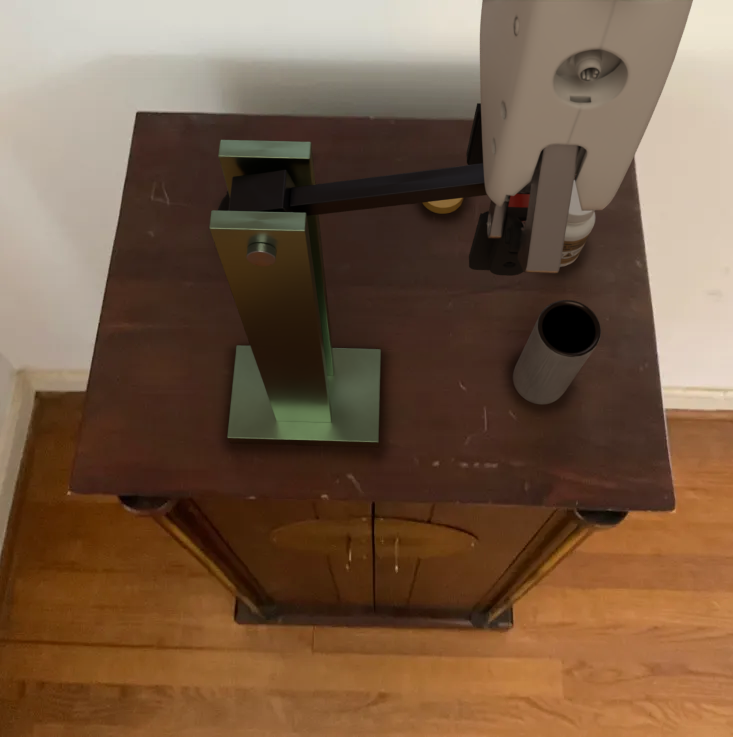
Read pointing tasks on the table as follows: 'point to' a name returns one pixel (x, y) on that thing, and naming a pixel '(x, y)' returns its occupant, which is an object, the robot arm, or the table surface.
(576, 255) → the pill bottle
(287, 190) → the lever
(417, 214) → the table surface
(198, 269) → the table surface
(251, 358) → the hand press
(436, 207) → the brass blank
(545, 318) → the planter
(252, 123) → the table surface
